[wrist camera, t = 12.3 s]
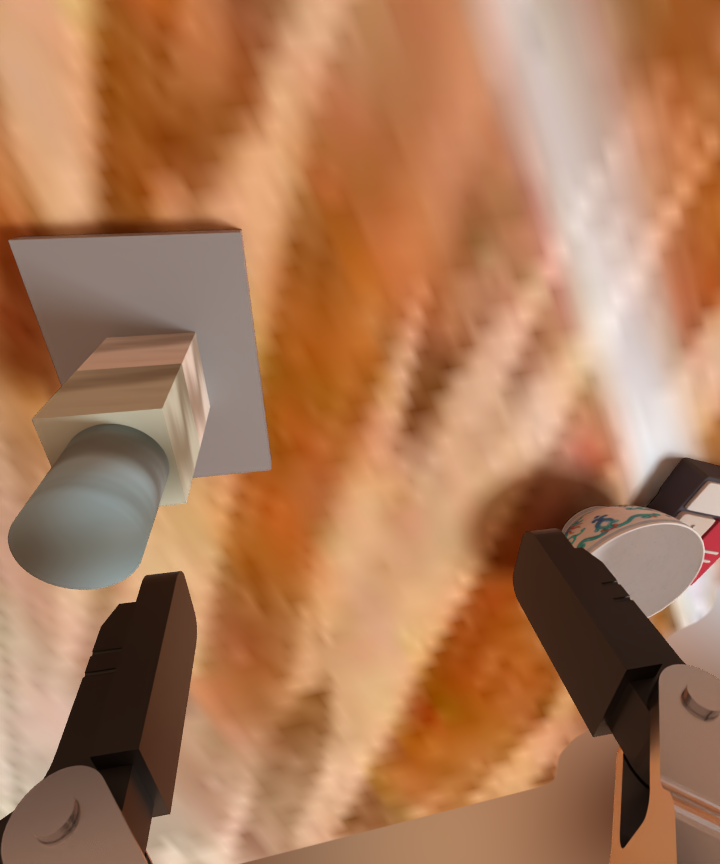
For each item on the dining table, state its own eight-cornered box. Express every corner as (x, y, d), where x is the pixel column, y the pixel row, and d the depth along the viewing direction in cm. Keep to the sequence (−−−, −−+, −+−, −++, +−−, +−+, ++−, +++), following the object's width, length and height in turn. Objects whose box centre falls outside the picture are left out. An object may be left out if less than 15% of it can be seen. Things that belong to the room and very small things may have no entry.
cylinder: (50, 428, 23) (-14, 506, 18) (157, 419, 23) (125, 492, 18) (82, 508, 25) (34, 596, 20) (178, 498, 26) (155, 581, 21)
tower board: (19, 236, 30) (8, 240, 29) (241, 229, 32) (240, 232, 31) (104, 476, 40) (98, 487, 38) (271, 460, 42) (271, 469, 40)
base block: (106, 337, 33) (76, 370, 27) (195, 332, 33) (182, 363, 28) (129, 413, 36) (105, 456, 31) (210, 406, 36) (200, 447, 31)
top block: (75, 370, 27) (31, 419, 22) (181, 363, 28) (162, 408, 23) (105, 456, 31) (72, 515, 25) (200, 447, 31) (186, 503, 26)
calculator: (623, 581, 54) (713, 480, 46) (602, 552, 57) (682, 455, 50) (692, 590, 57) (786, 498, 50) (668, 563, 60) (752, 473, 53)
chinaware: (672, 515, 54) (728, 564, 48) (570, 592, 58) (609, 647, 52) (609, 450, 48) (663, 497, 41) (499, 542, 52) (532, 598, 45)
